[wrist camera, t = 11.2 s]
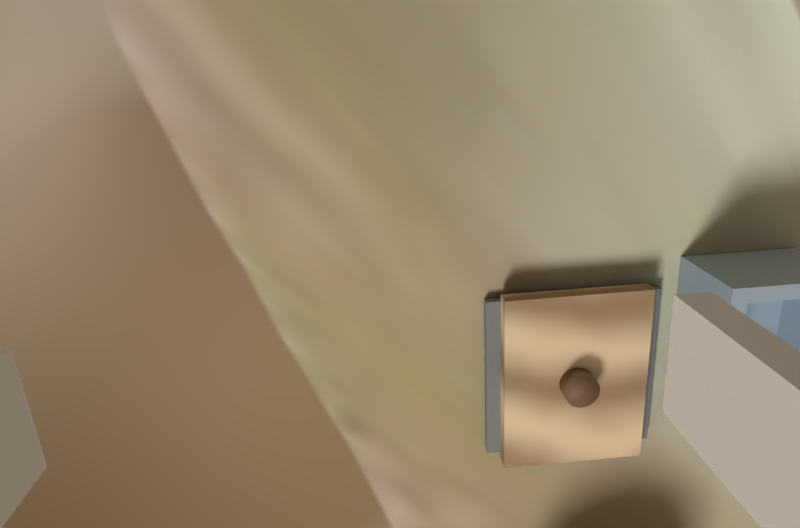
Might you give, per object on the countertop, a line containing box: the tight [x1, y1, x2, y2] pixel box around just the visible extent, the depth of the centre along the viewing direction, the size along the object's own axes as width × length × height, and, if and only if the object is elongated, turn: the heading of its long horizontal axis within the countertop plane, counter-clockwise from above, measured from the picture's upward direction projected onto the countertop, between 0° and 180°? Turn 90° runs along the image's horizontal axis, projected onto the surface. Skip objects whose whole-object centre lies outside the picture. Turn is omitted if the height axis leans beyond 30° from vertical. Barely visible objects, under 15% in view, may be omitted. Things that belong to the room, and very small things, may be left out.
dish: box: [677, 248, 800, 352], centre depth 40 cm, size 12×8×6 cm, turn 3°
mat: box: [484, 286, 661, 453], centre depth 43 cm, size 12×12×1 cm
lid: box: [501, 283, 655, 468], centre depth 42 cm, size 13×10×2 cm
